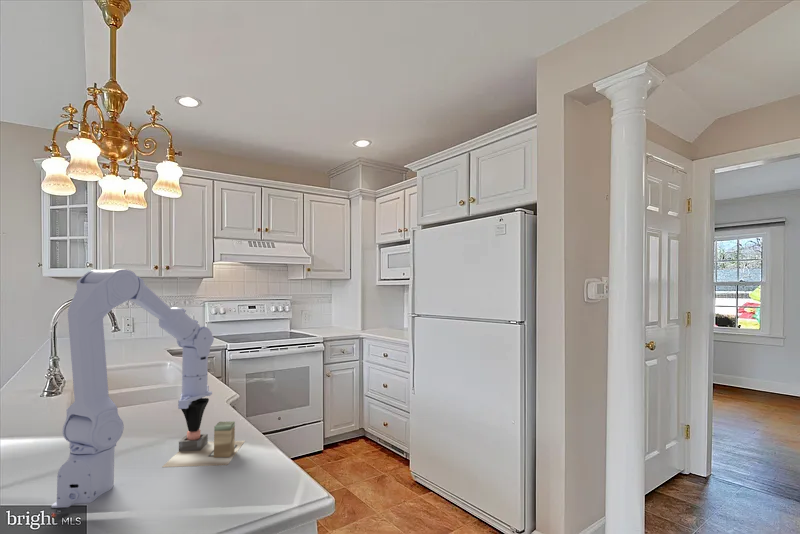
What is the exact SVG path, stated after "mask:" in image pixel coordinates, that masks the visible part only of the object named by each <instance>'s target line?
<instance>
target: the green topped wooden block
mask: <svg viewBox="0 0 800 534" xmlns="http://www.w3.org/2000/svg"><path fill="white" fill-rule="evenodd" d="M235 426H236V421H234V420H233V421H219V422H217V423H216V424H215V426H214V428H213V430H214V431H213V442H214V457H230V456H231V455H232V453H233V452H234V442H235V441H236V440H235V439H236V438H235V435H236V434H235V433H236V431H235V430H236V428H235Z"/></svg>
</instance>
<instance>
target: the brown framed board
mask: <svg viewBox="0 0 800 534" xmlns="http://www.w3.org/2000/svg"><path fill="white" fill-rule="evenodd" d="M245 442H246V440H235V442H234V452H233V453H232V455H231V456H230V457H214V441H209V434H208V433H200V439H199V440H187V434H186V435H185V436H184V437H183V438H181V439H180V440H179V441H178V451H177V452H176V453H175V454H174V455H173V456H172V457H171V458H170V459H168V461H166V462H165V463H164V464H163V465H162V466H161V468H179V467H182V468H183V467H184V468H185V467H209V466H228V465H229V464H230V462H231V461H232V460H233V458H234V457H235V455H236V454H237V453H238V452H239V451H240V449H241V447H243V444H244V443H245Z"/></svg>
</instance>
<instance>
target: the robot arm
mask: <svg viewBox="0 0 800 534" xmlns="http://www.w3.org/2000/svg"><path fill="white" fill-rule="evenodd" d="M75 285H76V291H75V294H74V295H73V298H72V299H71V301H70V304H69V306H68V309H67V310H68V311H67V321H68V322H67V323H68V334H69V335H68V336H69V346H70V359H71V370H72V371H71V372H72V384H73V385H72V387H73V395H74V396H73V397H74V401H73V403H71V405H69V406H68V407H67V408H66V411H65V412H66V417H65V421H64V424H63V426H62V431H61V432H62V437H63V438H64V440H66V441H67V442H69V445H68V446H69V447H68V448H69V456H68V458H67V460H66V461H65V462H64V463H63V464H62V465H61V467H60V468H59V469H58V472H57V479H56V501H55V502H54V503H52V504H51V506H50V507H51V508H52V509H54V508H55V509H57V508H69V507H71V506H72V505H75V504H91V503H92V502H94V501H95V500H96V499H97V498H99V497H100V496H101V495H103V494H105V493H106V492H108V491H110V490H111V489H113V488H114V482H115V481H114V480H115V455H116V454H115V453H116V451H115V449H116V446H117V443H118V442H119V441H120V439H121V437H122V436H123V434H124V429H125V426H124V421H123V419H122V418H121V417H120V415H119V411H118V409H119V408H118V406H117V405H116V402H114V401H113V400H112V399H111V397H110V395H109V384H108V383H109V382H108V370H107V369H108V368H107V355H106V354H107V353H106V343H105V341H106V340H105V329H104V317H106V316H107V315H108V313H110V312H111V311H112V310H113V309H114V308H116V307H118V306H120V305H122V304H124V303H125V302H127V301H130V302H133V303H134V304H136V305H137V306H139V307H140V308H142V309H143V310H144V311H146V312H148V313H149V314H150V315H152V316H153V317H155V318H157V319H158V326H159V327H160V328H161V329H162V330H164V332H166V333H168V334H169V335H170V336H171V337H173V338H175V339H176V344H177V346H178V347H180V348H182V359H181V360H182V361H181V364H182V365H181V368H182V369H181V371H182V373H181V393H180V398H179V400H178V403H177V405H178V406H177V409H178V410H181V411H182V413H183V416H184V418H185V421H186V426H187V429H188V430H187V431H198V430H199V429H200V428H201V423H202V420H203V415H204V412H205V410H206V407H207V405H208V403H209V401H210V399H209V398H207V397H210V396H212V395H213V391H210V389H209V388H210V386H209V385H208V373H209V372H208V369H209V368H208V366H209V365H208V363H209V362H208V361H209V355H210V353H211V352H210V350H211V347H212V345H213V343H214V339H215V337H214V335H213V333H212V331H211V330H210V328H208V326H204V325H203V326H200V324H199V321H198V320H196V319H193V318H191V316H190V315H188V314H187V310H186V309H184V308H183V307H176V306H175V307H170V306H169V305H168V304H167V303H166V302H165V301H164V300H163V299H161V298H160V297H159V296H158V295H157V294H156V293H155V292H154V291H153V290H152V289H151V288H150V287H149V286H147V284H146V283H145V280H144V279H143V278H141V277H140V276H137V274H136V273H135V272H134V271H132V270H130V269H127V268H120V269H99V268H98V269H97V268H96V269H92V270H89V271H87V272H86V273H85V274H84V275H82V276H81V277H80V278H79V279H77V280H76V284H75Z"/></svg>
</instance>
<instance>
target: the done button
mask: <svg viewBox="0 0 800 534" xmlns="http://www.w3.org/2000/svg"><path fill="white" fill-rule="evenodd" d="M200 434H201V429H200V428H199V430H198V431H189V430H187V431H186V435H187V440H199V439H200Z"/></svg>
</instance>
